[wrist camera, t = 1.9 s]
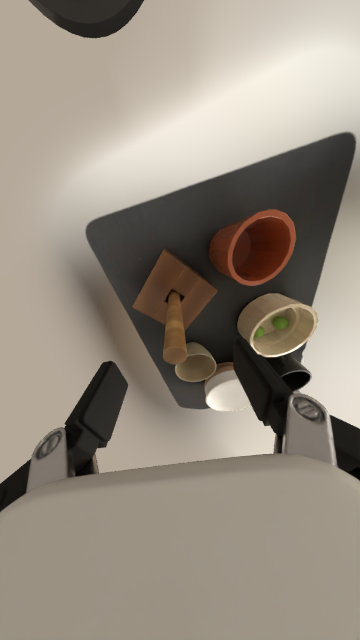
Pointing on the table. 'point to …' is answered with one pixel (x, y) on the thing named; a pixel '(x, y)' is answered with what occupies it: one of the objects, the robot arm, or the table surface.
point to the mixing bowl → (273, 338)
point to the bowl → (225, 389)
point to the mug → (290, 371)
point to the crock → (253, 247)
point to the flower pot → (196, 364)
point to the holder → (182, 280)
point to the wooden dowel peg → (174, 331)
